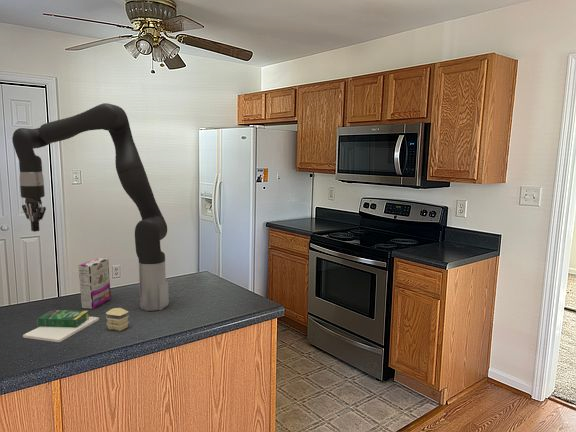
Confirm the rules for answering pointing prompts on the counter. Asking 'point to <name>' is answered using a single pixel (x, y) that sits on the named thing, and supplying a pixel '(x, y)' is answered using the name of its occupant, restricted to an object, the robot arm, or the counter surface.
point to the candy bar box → (94, 283)
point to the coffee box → (63, 318)
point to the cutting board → (57, 331)
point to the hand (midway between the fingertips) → (35, 231)
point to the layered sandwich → (117, 319)
